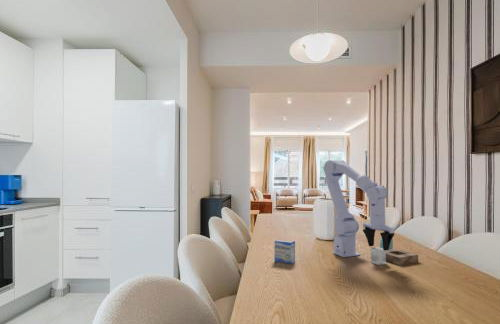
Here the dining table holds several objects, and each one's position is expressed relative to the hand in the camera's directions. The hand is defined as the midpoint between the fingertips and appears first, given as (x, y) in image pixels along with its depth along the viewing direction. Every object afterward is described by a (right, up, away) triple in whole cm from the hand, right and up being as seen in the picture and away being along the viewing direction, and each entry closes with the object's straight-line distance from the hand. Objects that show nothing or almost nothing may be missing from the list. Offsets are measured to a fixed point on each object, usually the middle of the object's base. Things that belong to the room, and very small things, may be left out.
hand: (378, 247), depth 122 cm
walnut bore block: (+10, -6, +4) cm, 13 cm away
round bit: (+12, -7, +18) cm, 23 cm away
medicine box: (-38, -7, +3) cm, 39 cm away
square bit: (0, -6, 0) cm, 6 cm away
